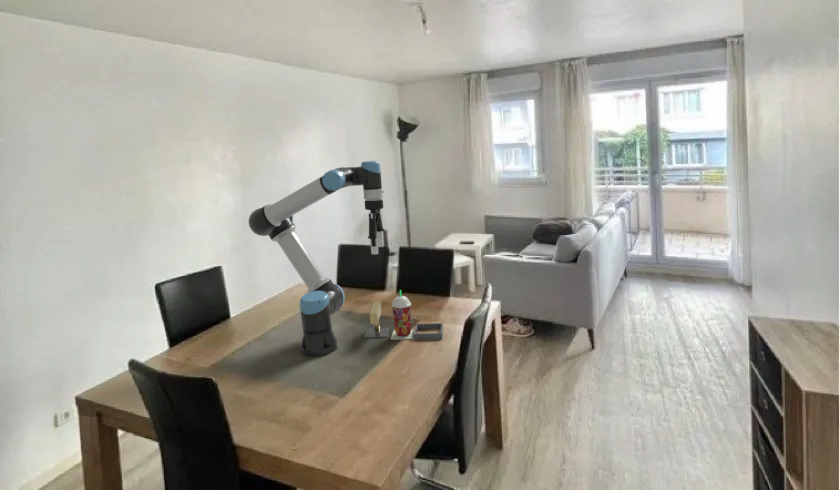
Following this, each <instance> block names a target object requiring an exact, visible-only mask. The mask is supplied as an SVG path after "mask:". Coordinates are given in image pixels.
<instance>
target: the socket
mask: <svg viewBox="0 0 840 490" xmlns="http://www.w3.org/2000/svg"><path fill="white" fill-rule="evenodd" d="M414 330H415V331H414V339H413V340H417V341H418V340H420V341H421V340H442V339H443V334H444V322H431V323H430V322H429V323H416V324H415V327H414ZM420 330H421V331H422V330H440V332H425V333H421V332H420V333H418V331H420Z"/></svg>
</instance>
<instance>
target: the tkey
mask: <svg viewBox="0 0 840 490" xmlns="http://www.w3.org/2000/svg"><path fill="white" fill-rule="evenodd" d="M381 315H382V304H381V301H373V303H372V307H371V308H370V311H369V321H370V325H373V328H374V331H375V332H379V331H380V328H381V326H380V319H381Z"/></svg>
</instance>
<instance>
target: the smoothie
mask: <svg viewBox="0 0 840 490" xmlns="http://www.w3.org/2000/svg"><path fill="white" fill-rule="evenodd" d="M391 309H392V317H393V322H394V330H395V332H396V333H397V335H398V336H408V335H409V334H410V332H411V330H412V303H411V301H410V300H409V298H408V297H407V296H405V295H402V290H401V289H399V296H396V297H395V298H394V300H393V301H392V303H391Z"/></svg>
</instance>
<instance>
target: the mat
mask: <svg viewBox="0 0 840 490" xmlns="http://www.w3.org/2000/svg"><path fill="white" fill-rule="evenodd" d="M414 331H415V329H411V332H410V334H409V335H408V336H398V335H397V333H396V332H395V329H394V330H393V331H392V335H391V337H390V341H391V340H392V341H393V340H394V341H398V340H402V341H403V340H414Z"/></svg>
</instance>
